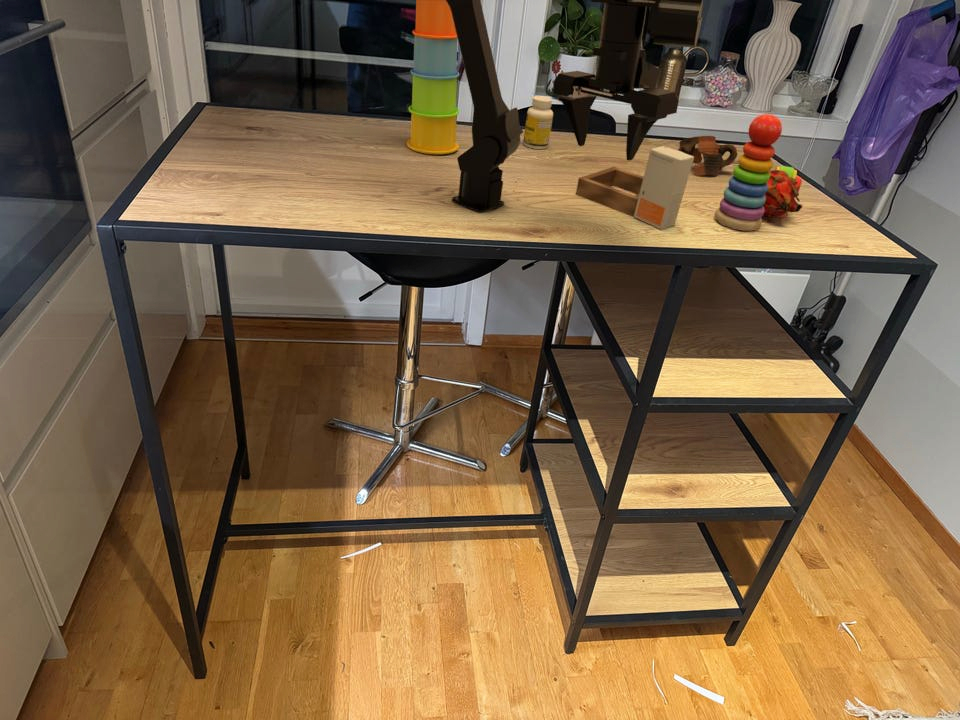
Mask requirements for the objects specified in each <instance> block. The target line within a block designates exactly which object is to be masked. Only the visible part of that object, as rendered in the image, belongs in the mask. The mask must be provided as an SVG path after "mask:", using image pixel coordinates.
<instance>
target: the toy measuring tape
mask: <svg viewBox="0 0 960 720" xmlns="http://www.w3.org/2000/svg"><path fill="white" fill-rule="evenodd" d="M774 170H781V171H785V172H787V173H788V176H789V177H791V178H794V179H796V181H797V184H796V185H795V187H796V188H797V189H798V192H800V189H801V185H802V181H803V179H802V177H801V176H797V174H798V173H797V172H798V171H797V170H796V169H795V167H793V166H787V165H780V166H776V167H775V169H774Z"/></svg>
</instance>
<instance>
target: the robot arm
mask: <svg viewBox="0 0 960 720" xmlns="http://www.w3.org/2000/svg"><path fill="white" fill-rule="evenodd" d="M446 2H447V3H448V5H449V7H450V9H451V13H452V17H453V21H454V25H455V30H456V34H457V43H458V46H459V50H460V54H461V59H462V62H463V66H464V67H463V68H464V71H465V76H466V79H467V80H466V81H467V84H468V88H469V93H470V97H471V100H472V101H471V102H472V105H473V112H472V123H471V136H472V137H471V138H472V139H471V140H472V146H471V147H470V148H468V149H467V150H465V151H464V152H463V153H461V154H460V155H459V156H457V164H458V168H459V171H460V176H459V185H458V186H459V187H458V188H459V189H458V195H455V196H452V197H451V201H452V202H454V203H457V204H459V205H461V206H462V207H463V206H464V207H465V208H468V209H470V210H473V211H474V212H478V213H483V212H487V211H490V210H493V209H496V208H498V207H502V206H504V205H505V201H504V200H502V193H503V185H504V180H502V177H503V174H504V173H503V172H504V171H503V170H502V169H500V167H499V166H500V165H502V164H504V163H505V161H506V160H507V159H508V158H509V157H511V155H513V154H514V153H516V152H517V150H518V148H519V146H520V144H521V135H522V134H523V133H524V130H523V128H522V127H521V125H520V119H519V110H518V107H514V108H511V109H510V108H508V105H507V104H506V103H505V101H504V99H503V97H502V91H501V88H500V83H499V80H498V74H497V70H496V65H495V60H494V57H493V50H492V47H491V42H490V38H489V33H488V29H487V25H486V24H487V23H486V19H485V15H484V11H483V7H482V6H483V5H482V0H446ZM590 2H592V3H601V4H604V8H603V15H602V22H601V28H600V29H601V31H600V39H599V46H593V49H592V56H597V63H596V70H595V74H593V73H589V72H585V71H580V70H575V71H565V72H559V73H558V74H557V76H556V77H555V78H554V80H553V82H552V83H553V85H552V94H554V95H558V97H557V99H558V101H559V102H561V103H562V104H563V105H562V106H563V107H564V109H565V111H566V114H567V117H568V119H569V122H570V124H571V127H572V131H573V134H574V137H575V139H576V143H577V146H578V147H583V146H585V144H586V140H587V135H588V130H589V129H588V128H589V120H590V110H591V108H592V106H593V104H594V102H595V101H596V99H597V97H599V98H603V99H608V100H613V101H616V102H620V103H625V104H628V105H630V107H631V109H632V111H633V113H631V114H628V115H627V127H626V128H627V131H626V146H625V148H626V149H625V152H626V153H625V154H626V160H627V161H629V162H630V161H632V160H634V158H635V156H636V154H637V153H638V151H639V149H640V147H641V146H642V143H643V142H644V140H645V138H646V136H647V135H648V133H649V131H651V128H652V127H653V125H654V124H655V123H656V122H658V120H662V119H663V120H664V119H666V118H667V117H668V116H669V115H673V114H677V113H678V108H679V97H678V95H677V93H676V91H672V90H668V89H664V88H659V87H657V85H658V81H659V79H660V76H661V73H662V69H660V68H658V67H657V66H655V65H654V64H652V63H650V62H648V61H646V57H647V52H646V51H647V49H645V48H642V42H643V35H644V27H645V21H646V17H647V16H646V14H647V8H649V13H648V19H647V25H646V36H649V38H652V40H653V44H654V45H663V46H672V47H673V46H674V47H681V48H682V47H683V48H692V49H693V48H694V49H696V47H697V43H698V39H699V35H700V31H701V27H702V20H703V16H702V12H703V6H704V0H590ZM635 89H639V90H635Z"/></svg>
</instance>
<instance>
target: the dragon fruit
mask: <svg viewBox="0 0 960 720" xmlns="http://www.w3.org/2000/svg"><path fill="white" fill-rule="evenodd" d="M769 173H770V179H769V180H768V182H766V183H767V185H768V190H767V192H766V193H765V194H764V195H765V197H766V201H765V203H764V204H763V207H764V210H765V211H764V214H763V216H762V217H761V219H764V220H768V221H771V217H772V216H775V217H778V218H779V219H783V218H785V217H788V212H789V213H798V212H799V211H801V209H802V208H803V204H799V203H798V202H800V199H799V196H800V194H799V192H800V191H799V192H798V189H797V188H796V187H795V185H796V184H797V181H796V179H794V178H791V177H789V176H788V173H787V172H785V171H781V170H775V169H771V170H770V171H769ZM797 201H798V202H797Z"/></svg>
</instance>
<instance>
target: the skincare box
mask: <svg viewBox="0 0 960 720" xmlns="http://www.w3.org/2000/svg"><path fill="white" fill-rule="evenodd" d="M648 154H649V155H648V158H647V163H646V165H645V170H644V174H643V177H644V178H643V181H642V185H641V189H640V193H639V197H638V201H637V205H636V209H635V213H634V216H633V218H635V219H637V220H638V221H639V220H640V221H641V222H644V223H646V224H647V225H648V224H649V225H651V226H653V227H655V228H657V229H659V230H665V229H667V228H670V227H673V226H675V225H676V221H677V218H678V214H679V211H680V208H681V204H682V202H683V201H682V200H683V197H684V194H685V190H686V188H687V187H686V186H687V184H688V180H689V176H690V173H691V170H692V166H693V163H694V161H693V160H694V156H691V155H688V154H685V153H683V152H681V151H678V149H673V148H670V147H668V146H666V145H665V146H664V145H662V146H659V147H658V146H657V147H653V148H650V151H649V153H648Z"/></svg>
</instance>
